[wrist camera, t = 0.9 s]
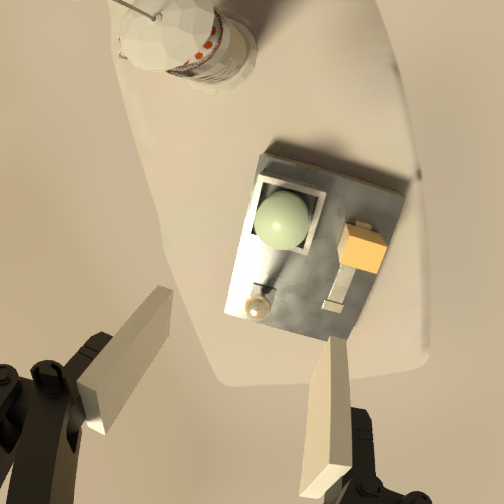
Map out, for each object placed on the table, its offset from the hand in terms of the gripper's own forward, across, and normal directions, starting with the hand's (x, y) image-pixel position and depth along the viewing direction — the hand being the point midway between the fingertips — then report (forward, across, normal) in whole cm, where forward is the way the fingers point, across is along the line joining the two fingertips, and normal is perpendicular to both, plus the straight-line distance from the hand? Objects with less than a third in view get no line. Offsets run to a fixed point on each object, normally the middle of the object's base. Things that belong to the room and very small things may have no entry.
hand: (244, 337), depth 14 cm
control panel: (+25, +4, -5) cm, 26 cm away
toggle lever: (+22, 0, -11) cm, 24 cm away
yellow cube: (+22, +8, -1) cm, 23 cm away
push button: (+20, 0, 0) cm, 20 cm away
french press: (+25, -13, +15) cm, 32 cm away
